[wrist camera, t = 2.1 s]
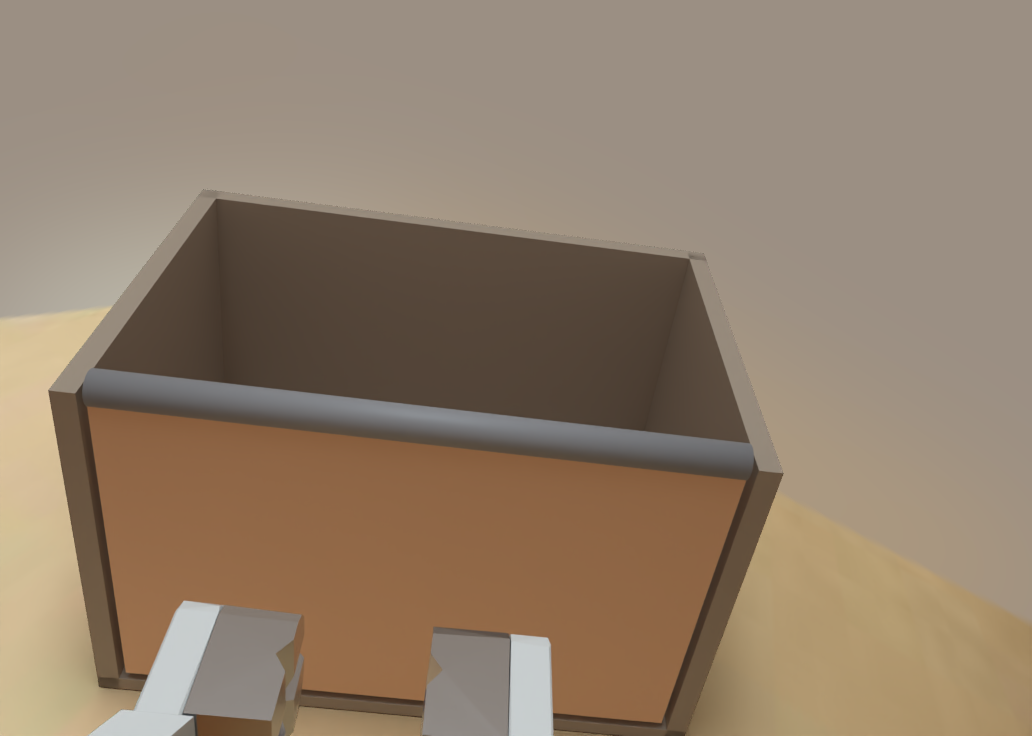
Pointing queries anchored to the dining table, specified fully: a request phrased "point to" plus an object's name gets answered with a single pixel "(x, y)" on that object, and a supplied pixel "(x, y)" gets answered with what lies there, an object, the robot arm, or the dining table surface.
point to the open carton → (427, 362)
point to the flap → (411, 531)
